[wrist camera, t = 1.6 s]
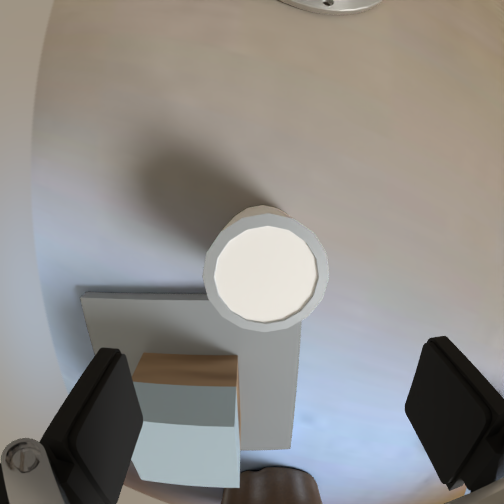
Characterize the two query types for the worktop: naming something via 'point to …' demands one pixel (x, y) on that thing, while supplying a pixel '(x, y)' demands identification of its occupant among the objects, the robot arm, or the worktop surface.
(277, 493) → the plant pot
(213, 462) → the brick
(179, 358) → the brick
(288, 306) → the white rounded piece
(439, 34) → the worktop surface
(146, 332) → the plate
